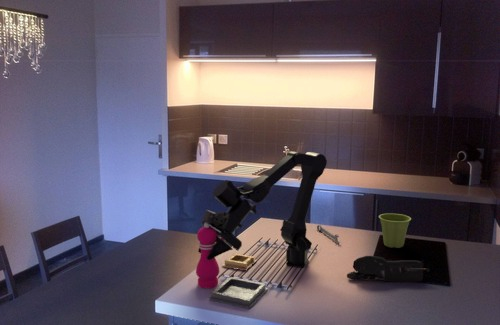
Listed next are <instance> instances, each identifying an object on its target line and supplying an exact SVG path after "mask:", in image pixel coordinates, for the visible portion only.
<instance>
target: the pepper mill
mask: <svg viewBox="0 0 500 325" xmlns="http://www.w3.org/2000/svg"><path fill="white" fill-rule="evenodd" d="M209 226H210V224H209V223H208V222H206V223H205V224H204V226H202V227H201V228H199V229H198V231H197V233H196V234H197V236H196V237H197V241H199V242H198V247H199V248H200V249H201V253H200V257H199V261H198V262H197V265H196V268H195V275H197V285H198V287H199V288H201V289H212V288H215V287H216V288H217V287H218V286H219V278H218V276H219V274H220V266H219V263H218V261H217V259H216V257H214V258H212V259H210V260H208V259H207V256H208V254H209V253H210V251H211V250H212V248H213V247H214V245H215V244H216V242H214V241H215V240H216V236H217V233H216V230H215V229H214V228H212V227H209ZM199 248H198V249H199Z"/></svg>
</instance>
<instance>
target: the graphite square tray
mask: <svg viewBox="0 0 500 325" xmlns="http://www.w3.org/2000/svg"><path fill="white" fill-rule="evenodd" d="M266 285H267V284H266V283H264V282H259V281H253V280H248V279H243V278H239V277H232V276H230V277H228V278H227V279H226V280H224V281H223V282H222V283H221V284H220V285H218V286H216V288H215V289H214V290H213V291H212V292H210V296H209V297H208V300H209V301H213V302H217V303H222V304H226V305H231V306H235V307H240V308H244V309H249V310H250V309H251V308H252V307H254V305H255V304H256V303H257V302H258V301H259V300H260V299H261V298H262V297H263V295H265V293H267V291H268V290H269V289H268V288H269V287H267V286H266Z"/></svg>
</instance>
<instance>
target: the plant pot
mask: <svg viewBox="0 0 500 325" xmlns="http://www.w3.org/2000/svg"><path fill="white" fill-rule="evenodd" d="M378 218H379V220H380V224H381V230H382V237H383V238H382V239H383V244H384V246H385V247H388V248H396V249H400V248H403V247H404V245H405V241H406V237H407V235H406V234H407V231H408V226H409V224H410V221H411V220H412V217H410V216H408V215H406V214H400V213H382V214H380V215H378Z"/></svg>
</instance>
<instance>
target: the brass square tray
mask: <svg viewBox="0 0 500 325" xmlns="http://www.w3.org/2000/svg"><path fill="white" fill-rule="evenodd" d="M256 261H257V262H258V260H256V259H255V256H251V255H245V254H239V253H233V254H232V255H231V256H230V257H228V259H227V258H226V259H225V260H224V263H223V264H222V265H221V266H222V268H226V269H231V268H238V269H240V270H239V271H242V270H246V269H247V268H249V267H250V266H251V265H252V264H253V263H255V262H256ZM257 262H256V263H257ZM256 263H255V264H256ZM251 267H252V266H251ZM251 267H250V268H251ZM250 268H249V269H250Z"/></svg>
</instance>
